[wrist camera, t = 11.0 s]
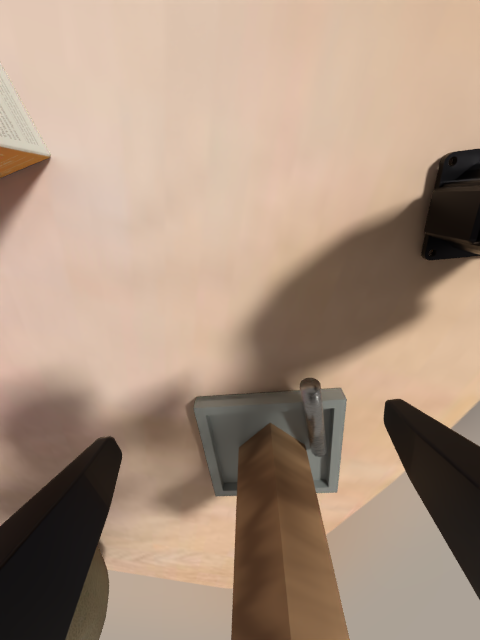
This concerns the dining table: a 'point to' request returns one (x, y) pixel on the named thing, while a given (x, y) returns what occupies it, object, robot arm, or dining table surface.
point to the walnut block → (281, 547)
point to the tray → (253, 415)
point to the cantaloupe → (91, 603)
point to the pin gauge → (314, 415)
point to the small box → (17, 131)
